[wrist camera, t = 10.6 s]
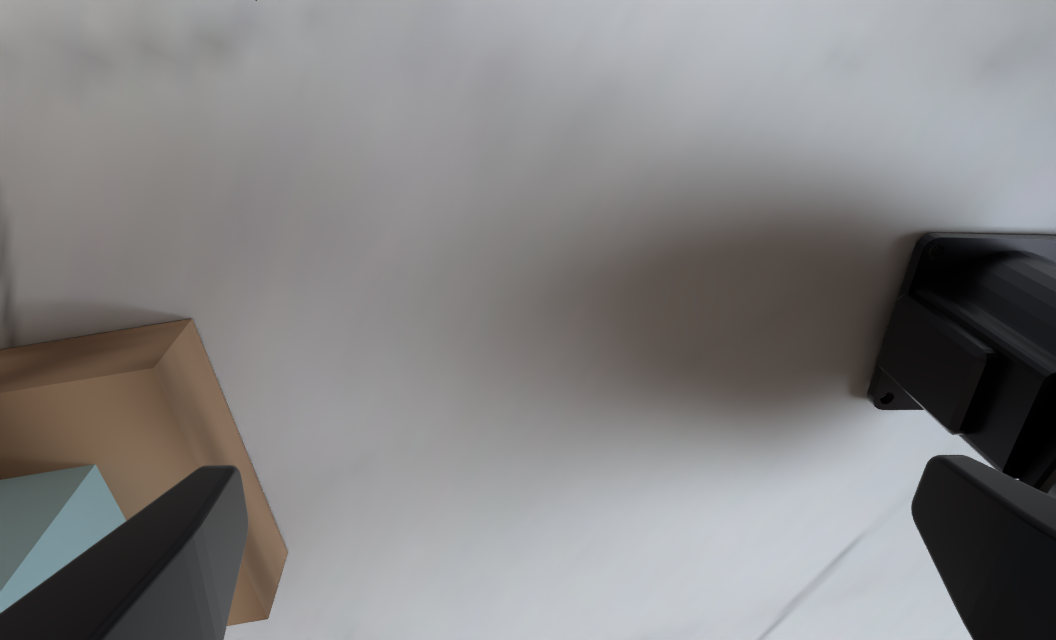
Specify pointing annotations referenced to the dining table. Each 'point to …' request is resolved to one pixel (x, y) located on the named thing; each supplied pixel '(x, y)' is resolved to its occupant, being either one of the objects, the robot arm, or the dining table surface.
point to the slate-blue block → (50, 525)
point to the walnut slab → (136, 430)
